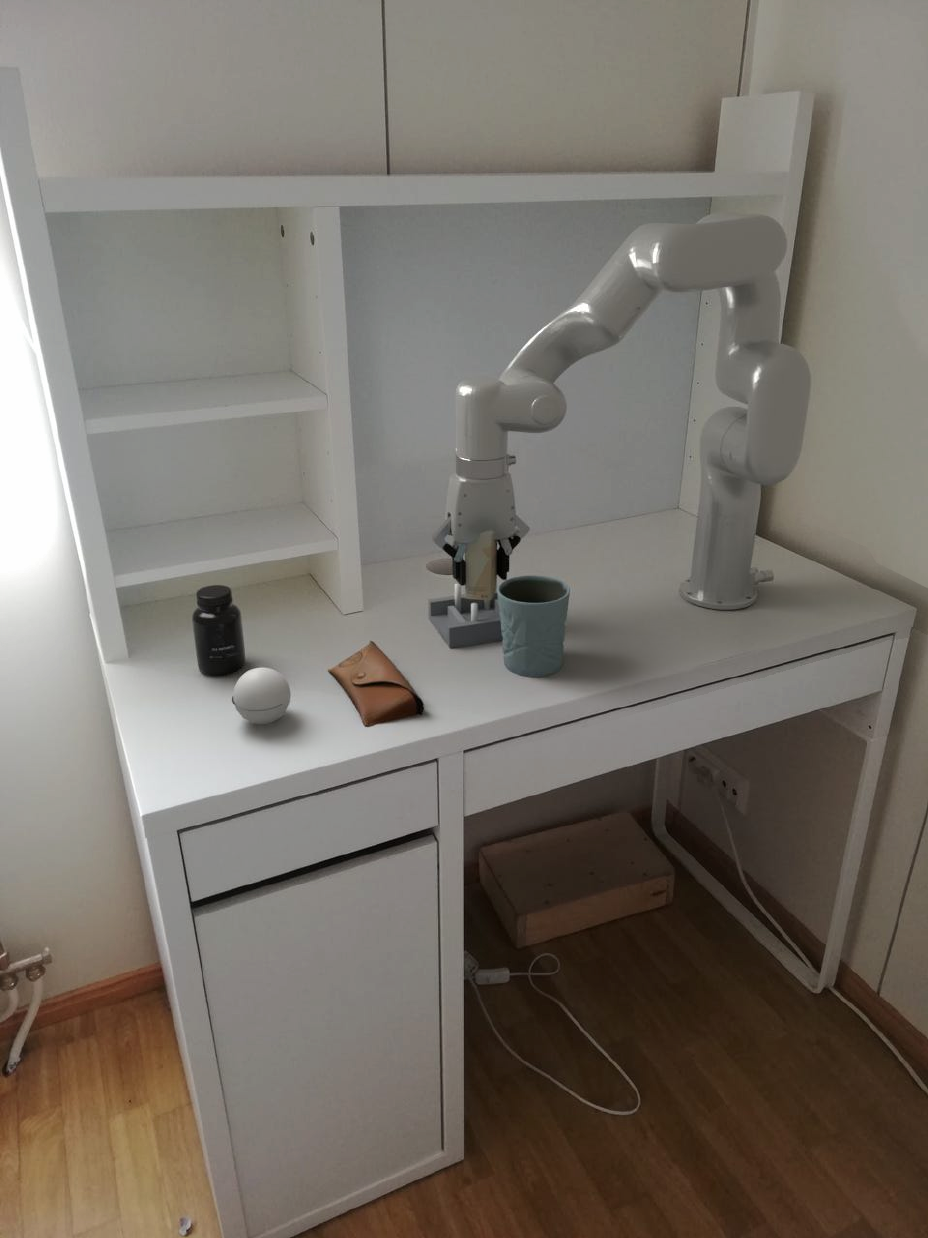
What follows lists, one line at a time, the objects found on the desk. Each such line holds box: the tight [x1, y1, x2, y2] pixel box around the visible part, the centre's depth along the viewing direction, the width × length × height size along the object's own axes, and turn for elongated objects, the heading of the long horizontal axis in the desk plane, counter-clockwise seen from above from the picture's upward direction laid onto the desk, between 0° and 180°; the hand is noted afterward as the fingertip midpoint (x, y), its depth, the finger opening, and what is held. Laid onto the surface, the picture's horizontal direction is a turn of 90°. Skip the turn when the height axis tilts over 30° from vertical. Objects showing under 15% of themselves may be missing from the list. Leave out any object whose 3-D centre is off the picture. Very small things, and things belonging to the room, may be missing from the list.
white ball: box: [231, 667, 292, 725], centre depth 117 cm, size 10×7×7 cm
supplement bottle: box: [191, 584, 247, 677], centre depth 130 cm, size 7×7×12 cm
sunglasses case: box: [327, 640, 425, 728], centre depth 126 cm, size 18×7×7 cm
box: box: [464, 531, 498, 600], centre depth 139 cm, size 5×4×11 cm
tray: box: [427, 582, 503, 649], centre depth 143 cm, size 14×11×6 cm
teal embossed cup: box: [496, 574, 571, 678], centre depth 130 cm, size 10×10×12 cm
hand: (480, 578), depth 141 cm, fingers closed on box, 6 cm apart
